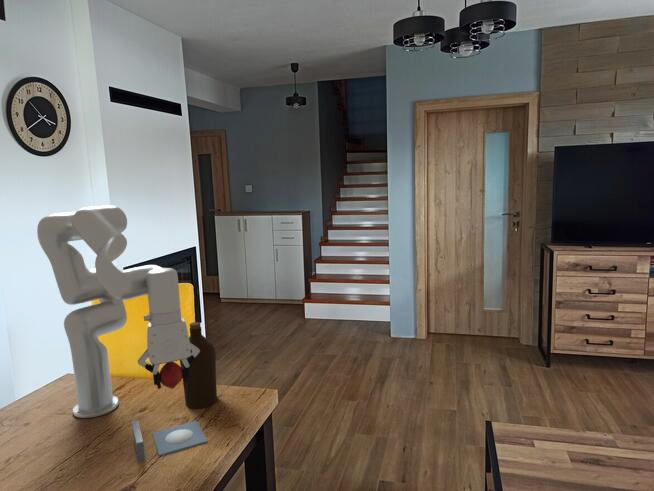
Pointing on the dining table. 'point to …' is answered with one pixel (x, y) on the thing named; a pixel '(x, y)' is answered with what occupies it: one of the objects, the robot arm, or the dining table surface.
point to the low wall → (138, 441)
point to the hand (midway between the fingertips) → (171, 383)
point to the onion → (171, 374)
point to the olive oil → (201, 371)
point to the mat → (178, 438)
